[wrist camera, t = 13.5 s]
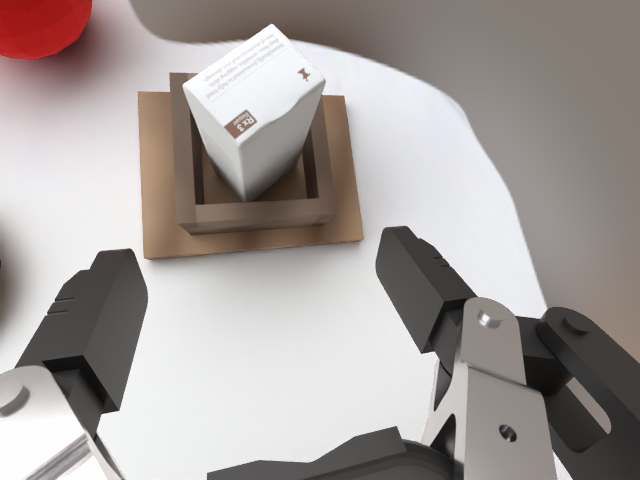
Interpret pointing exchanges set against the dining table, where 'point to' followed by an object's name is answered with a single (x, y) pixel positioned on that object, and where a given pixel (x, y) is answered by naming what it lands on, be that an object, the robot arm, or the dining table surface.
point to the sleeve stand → (220, 200)
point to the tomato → (40, 26)
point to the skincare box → (255, 111)
